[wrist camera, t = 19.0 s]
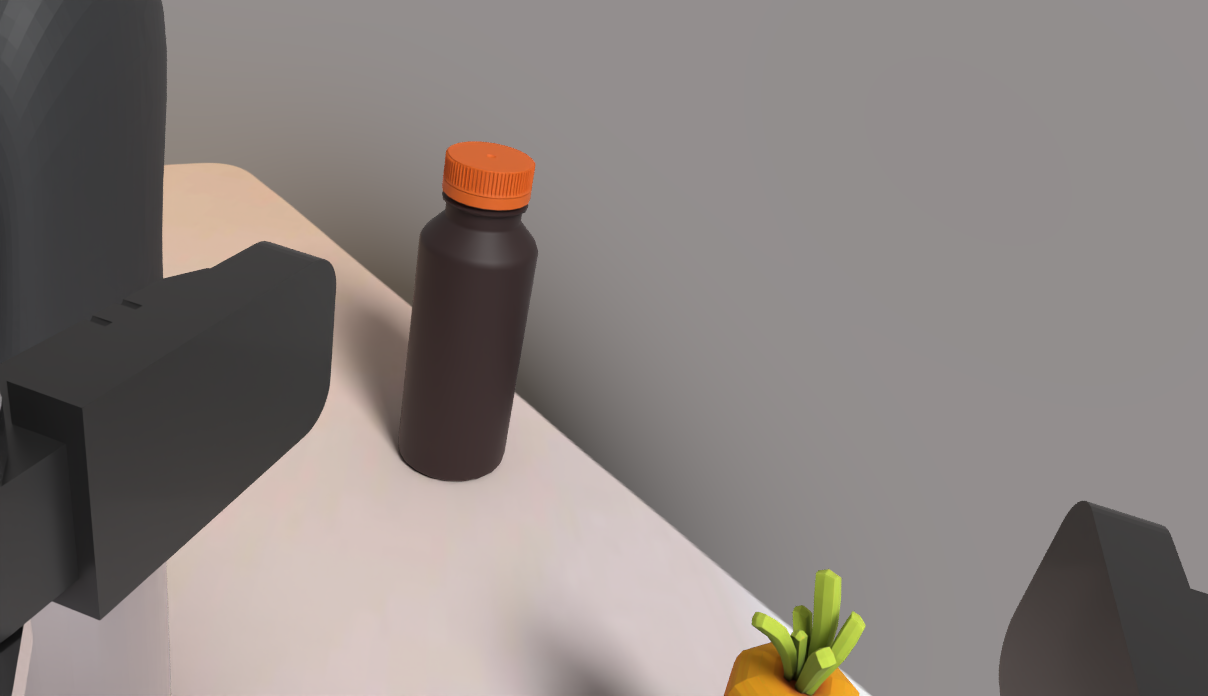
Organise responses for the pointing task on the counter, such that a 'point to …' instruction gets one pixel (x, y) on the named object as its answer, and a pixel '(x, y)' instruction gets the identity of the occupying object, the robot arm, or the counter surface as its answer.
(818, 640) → the carrot
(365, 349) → the counter surface
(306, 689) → the counter surface
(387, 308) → the counter surface
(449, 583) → the counter surface
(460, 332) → the bottle
